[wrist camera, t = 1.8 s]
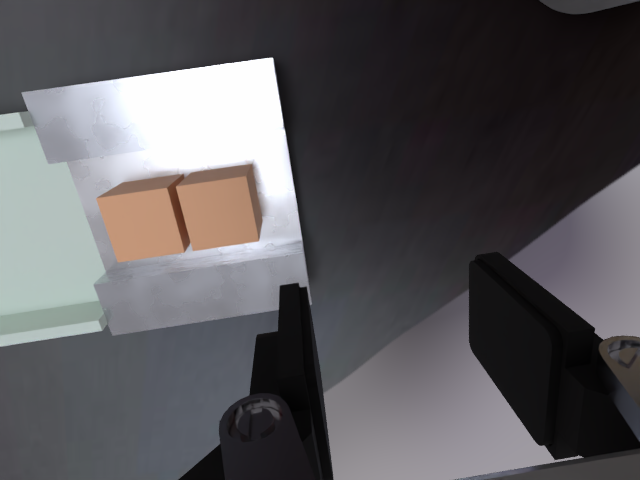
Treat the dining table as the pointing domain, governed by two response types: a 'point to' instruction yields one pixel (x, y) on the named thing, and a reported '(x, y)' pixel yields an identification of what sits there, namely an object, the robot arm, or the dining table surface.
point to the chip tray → (43, 244)
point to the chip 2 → (221, 207)
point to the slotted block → (183, 158)
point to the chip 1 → (145, 218)
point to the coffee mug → (583, 5)
